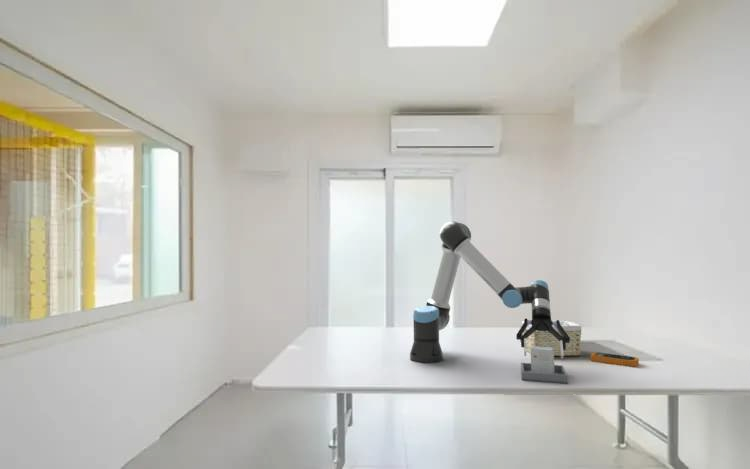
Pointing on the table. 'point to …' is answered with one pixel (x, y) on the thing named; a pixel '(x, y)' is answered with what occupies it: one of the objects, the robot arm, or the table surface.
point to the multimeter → (615, 359)
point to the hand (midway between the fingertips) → (543, 355)
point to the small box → (542, 360)
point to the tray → (544, 374)
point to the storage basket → (550, 341)
